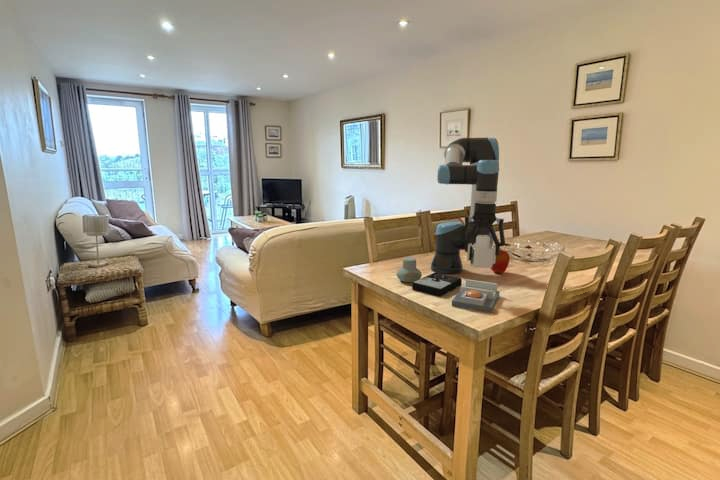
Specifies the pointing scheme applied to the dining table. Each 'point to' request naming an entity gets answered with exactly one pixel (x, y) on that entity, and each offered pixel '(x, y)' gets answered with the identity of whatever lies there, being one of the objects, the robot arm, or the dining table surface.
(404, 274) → the air freshener
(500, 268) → the apple
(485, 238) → the medicine bottle
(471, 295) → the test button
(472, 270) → the dining table surface
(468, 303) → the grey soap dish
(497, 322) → the dining table surface
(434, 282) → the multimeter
